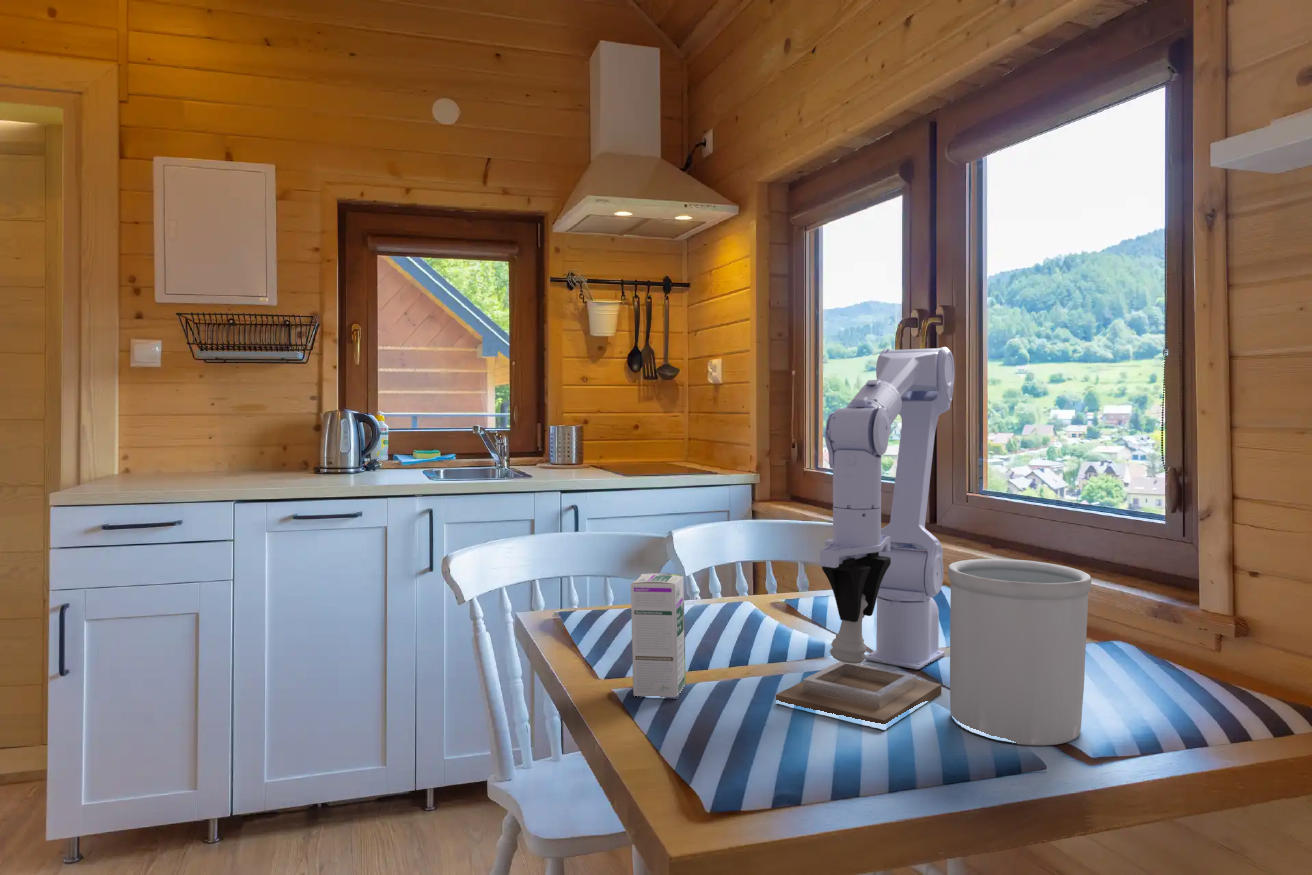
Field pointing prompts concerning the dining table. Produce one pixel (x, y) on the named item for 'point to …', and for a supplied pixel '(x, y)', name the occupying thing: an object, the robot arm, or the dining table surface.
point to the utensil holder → (1018, 648)
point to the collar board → (860, 692)
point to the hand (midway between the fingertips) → (856, 617)
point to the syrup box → (658, 635)
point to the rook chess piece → (850, 640)
